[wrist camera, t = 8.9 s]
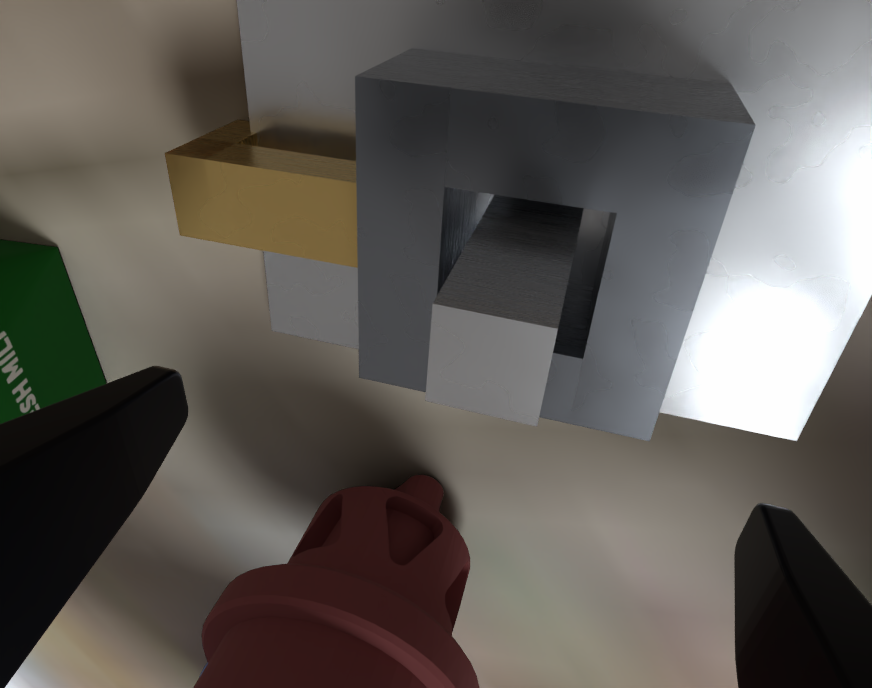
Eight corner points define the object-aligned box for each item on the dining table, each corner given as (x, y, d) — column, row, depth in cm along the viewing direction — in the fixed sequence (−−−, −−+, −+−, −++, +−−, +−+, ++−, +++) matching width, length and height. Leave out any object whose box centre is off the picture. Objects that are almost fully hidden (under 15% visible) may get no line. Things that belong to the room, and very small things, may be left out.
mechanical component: (516, 606, 29) (323, 572, 32) (507, 443, 24) (278, 420, 27) (452, 949, 19) (181, 857, 22) (413, 798, 14) (65, 703, 17)
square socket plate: (996, 4, 14) (1144, 34, 10) (790, 421, 20) (826, 540, 16) (217, -60, 17) (87, -57, 13) (260, 312, 24) (183, 388, 20)
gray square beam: (590, 179, 17) (557, 329, 11) (574, 252, 18) (537, 426, 12) (510, 166, 17) (432, 303, 11) (500, 239, 19) (425, 400, 12)
